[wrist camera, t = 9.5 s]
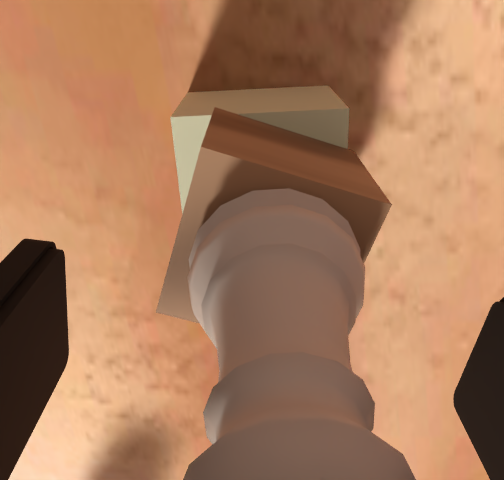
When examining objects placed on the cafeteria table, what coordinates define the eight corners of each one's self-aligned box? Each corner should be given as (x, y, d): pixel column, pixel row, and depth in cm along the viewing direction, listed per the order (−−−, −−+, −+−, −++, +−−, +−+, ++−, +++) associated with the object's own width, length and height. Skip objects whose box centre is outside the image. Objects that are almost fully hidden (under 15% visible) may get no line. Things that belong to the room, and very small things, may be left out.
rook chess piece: (197, 170, 12) (114, 429, 5) (375, 192, 12) (563, 470, 5) (184, 319, 14) (112, 666, 6) (338, 336, 14) (432, 686, 7)
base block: (188, 91, 21) (170, 117, 16) (327, 85, 20) (349, 108, 16) (201, 219, 23) (189, 271, 19) (325, 213, 23) (342, 264, 19)
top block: (214, 106, 16) (200, 146, 11) (353, 151, 17) (391, 204, 12) (179, 236, 18) (155, 312, 14) (303, 270, 19) (320, 354, 14)
